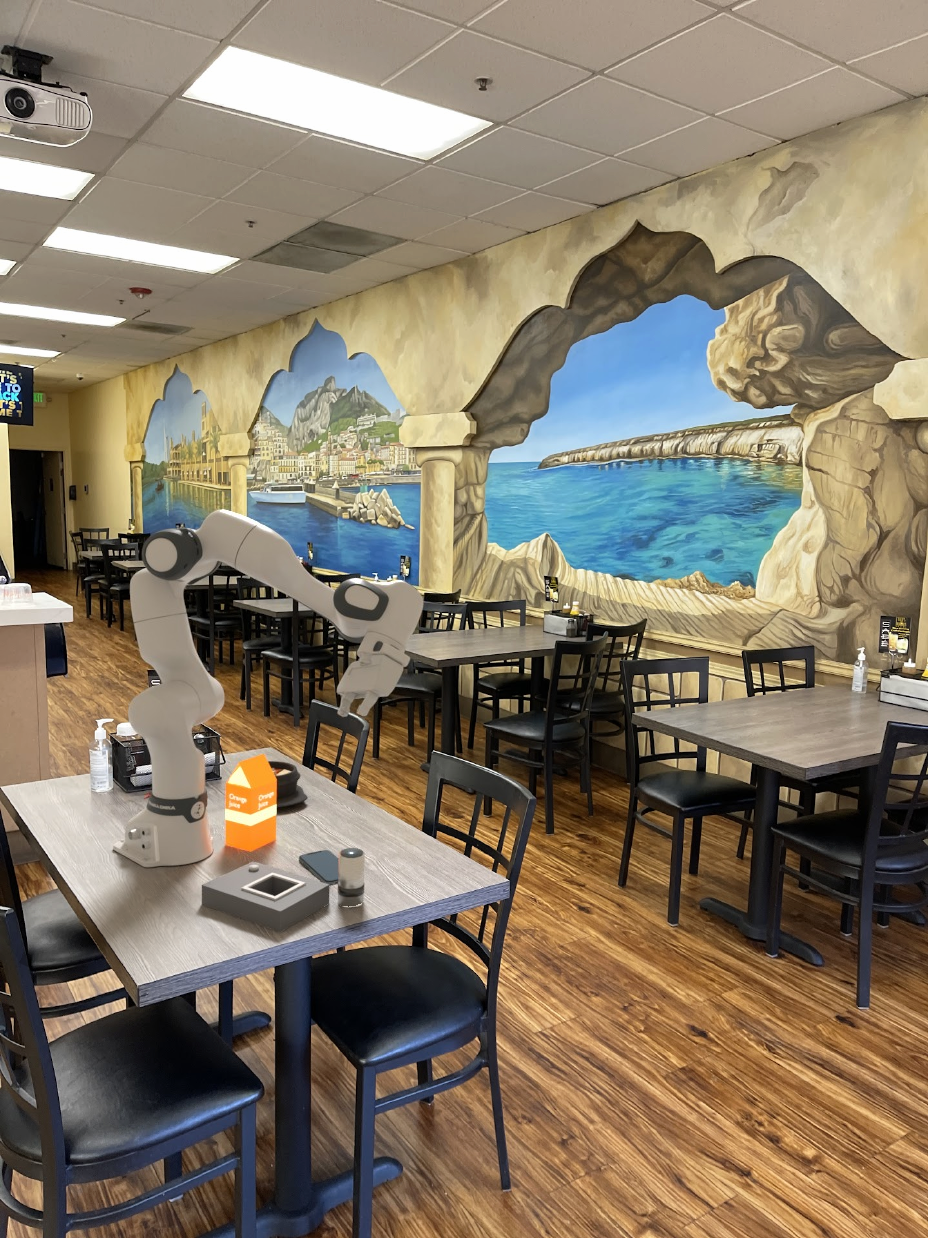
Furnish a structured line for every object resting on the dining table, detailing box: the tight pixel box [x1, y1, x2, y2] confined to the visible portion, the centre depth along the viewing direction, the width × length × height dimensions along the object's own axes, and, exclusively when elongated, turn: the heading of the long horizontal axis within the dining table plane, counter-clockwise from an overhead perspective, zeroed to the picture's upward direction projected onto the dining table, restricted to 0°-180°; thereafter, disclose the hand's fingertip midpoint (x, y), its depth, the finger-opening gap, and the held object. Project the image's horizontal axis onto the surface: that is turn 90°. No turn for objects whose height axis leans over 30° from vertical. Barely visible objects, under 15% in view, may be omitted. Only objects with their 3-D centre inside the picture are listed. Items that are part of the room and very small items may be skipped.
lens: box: [337, 847, 366, 907], centre depth 169 cm, size 5×5×10 cm
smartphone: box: [298, 849, 339, 886], centre depth 185 cm, size 8×2×15 cm
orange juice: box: [224, 753, 278, 853], centre depth 198 cm, size 8×9×20 cm
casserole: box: [267, 760, 308, 808], centre depth 229 cm, size 25×19×8 cm
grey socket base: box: [201, 860, 330, 933], centre depth 167 cm, size 20×14×5 cm
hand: (351, 715), depth 172 cm, fingers open, 8 cm apart
